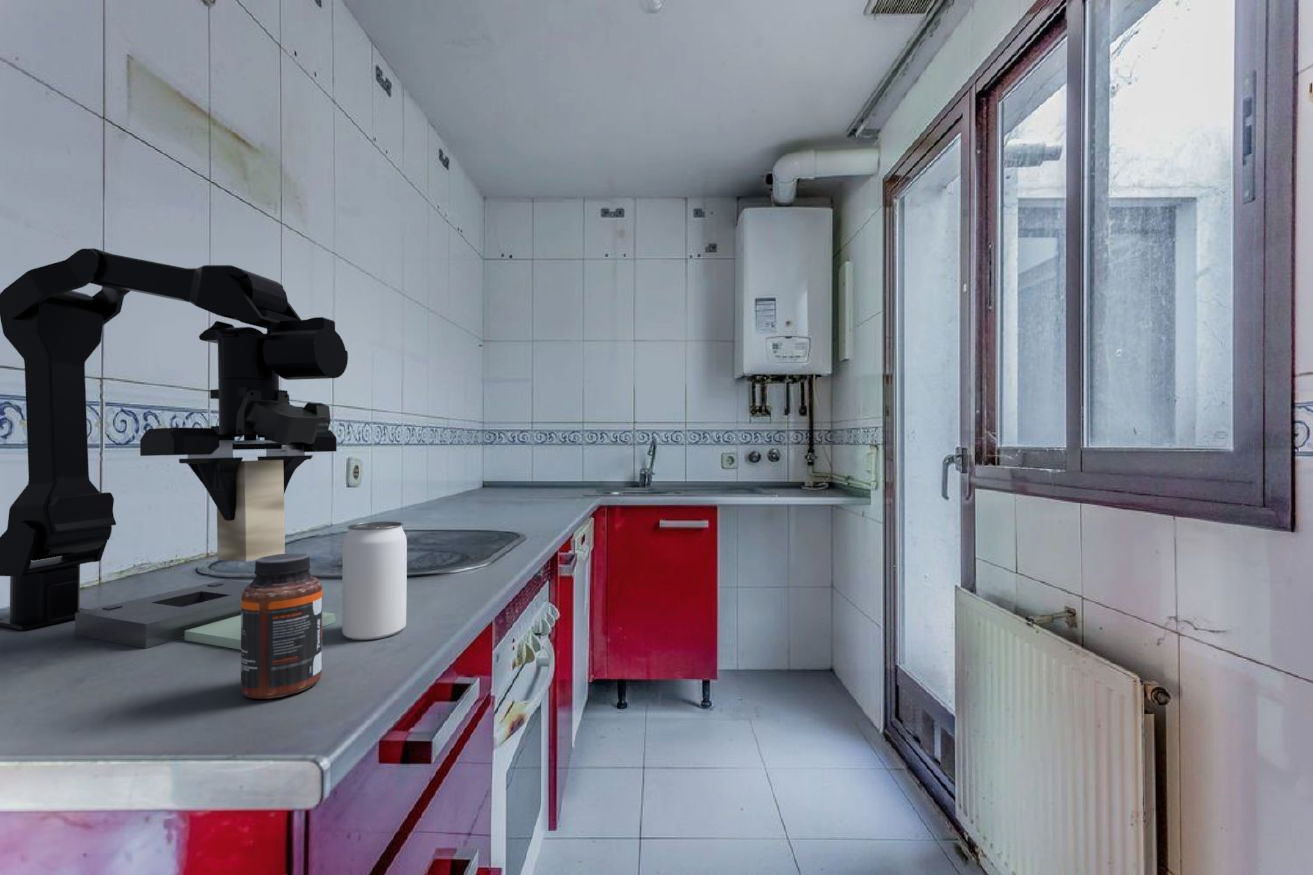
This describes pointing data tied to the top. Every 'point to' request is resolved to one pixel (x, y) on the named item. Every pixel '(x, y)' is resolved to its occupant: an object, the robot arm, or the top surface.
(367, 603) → the can
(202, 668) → the top surface
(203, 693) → the top surface
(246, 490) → the peg
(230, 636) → the pad
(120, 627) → the plate
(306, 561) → the supplement bottle
